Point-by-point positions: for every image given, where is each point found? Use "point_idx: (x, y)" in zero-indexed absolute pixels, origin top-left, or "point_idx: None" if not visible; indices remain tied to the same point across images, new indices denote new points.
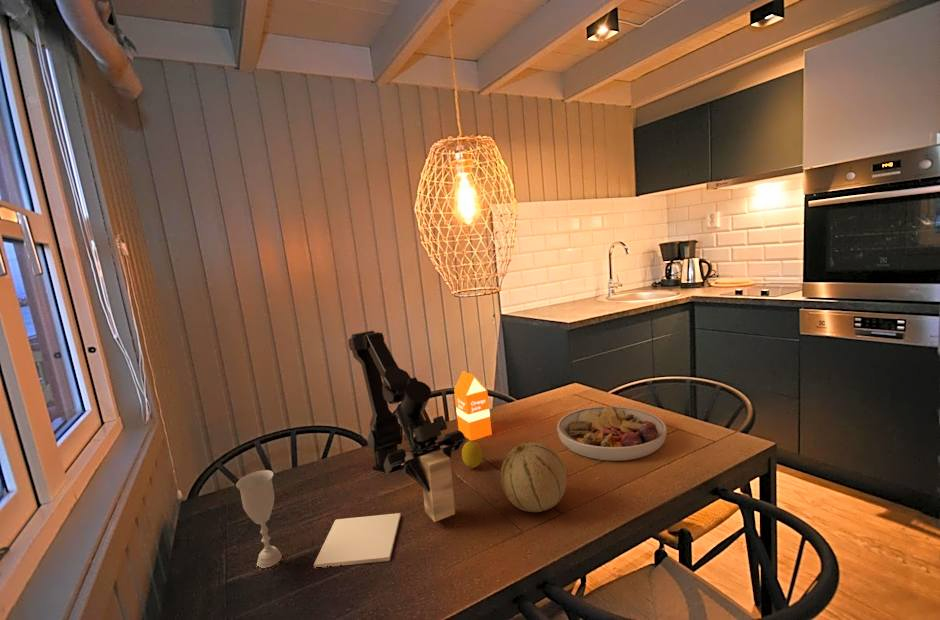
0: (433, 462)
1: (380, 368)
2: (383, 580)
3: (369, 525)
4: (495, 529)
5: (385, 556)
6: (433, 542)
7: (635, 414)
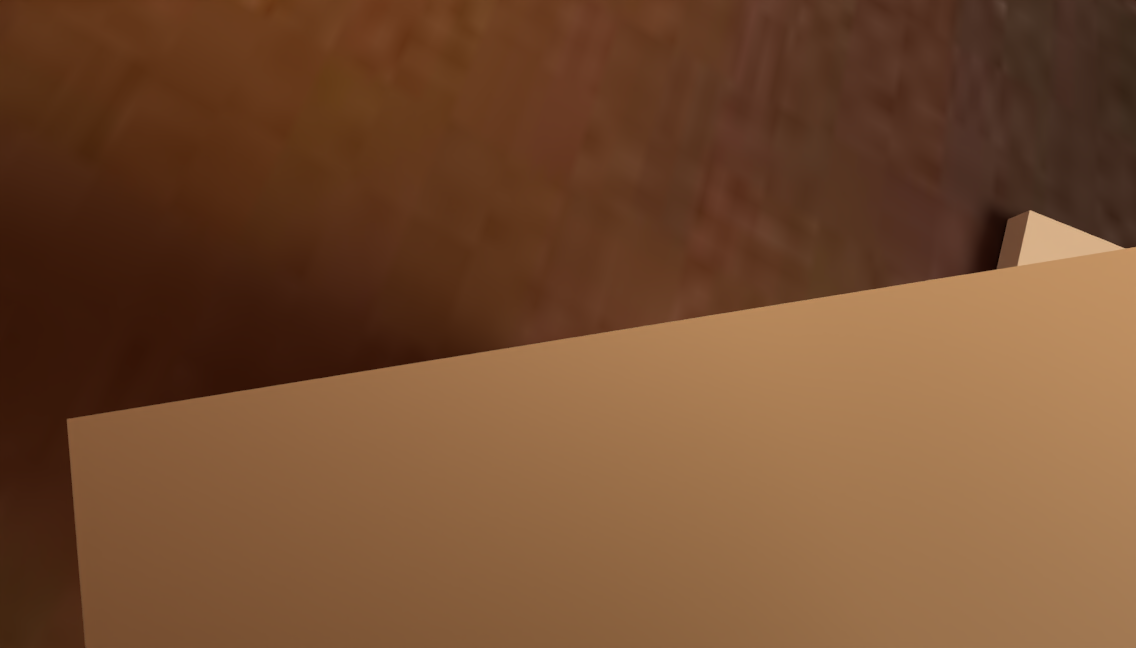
0: (990, 389)
1: None
2: (1054, 56)
3: None
4: (117, 148)
5: (1055, 230)
6: (672, 258)
7: None
